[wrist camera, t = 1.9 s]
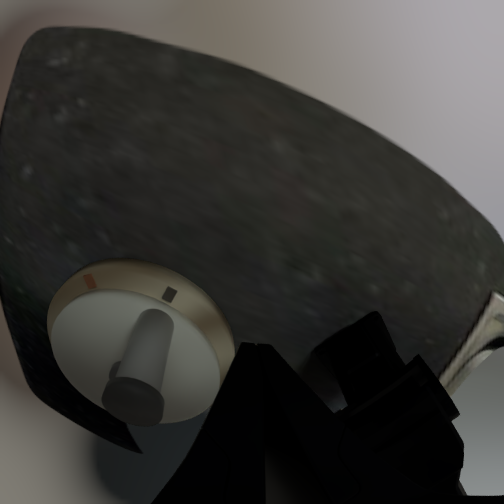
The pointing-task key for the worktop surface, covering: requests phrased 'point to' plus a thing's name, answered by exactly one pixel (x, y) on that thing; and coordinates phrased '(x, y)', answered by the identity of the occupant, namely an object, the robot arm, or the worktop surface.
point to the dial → (135, 357)
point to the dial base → (154, 285)
